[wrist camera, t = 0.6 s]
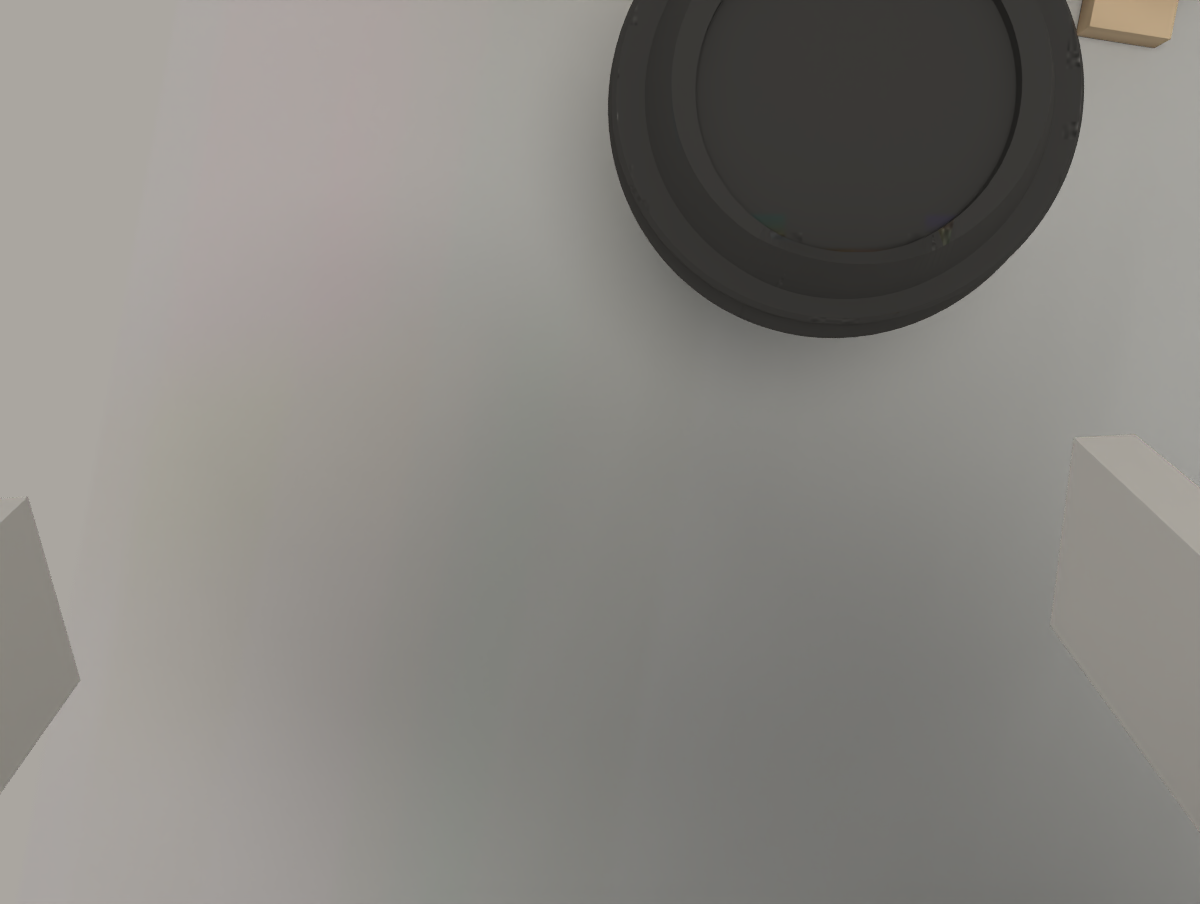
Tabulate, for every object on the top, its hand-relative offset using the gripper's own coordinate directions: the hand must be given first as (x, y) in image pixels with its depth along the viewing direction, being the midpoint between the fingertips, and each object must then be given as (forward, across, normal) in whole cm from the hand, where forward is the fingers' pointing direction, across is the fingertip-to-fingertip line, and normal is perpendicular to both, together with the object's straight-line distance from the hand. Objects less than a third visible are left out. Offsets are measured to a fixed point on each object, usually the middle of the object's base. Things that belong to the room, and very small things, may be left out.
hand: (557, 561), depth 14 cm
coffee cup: (+22, -6, 0) cm, 23 cm away
